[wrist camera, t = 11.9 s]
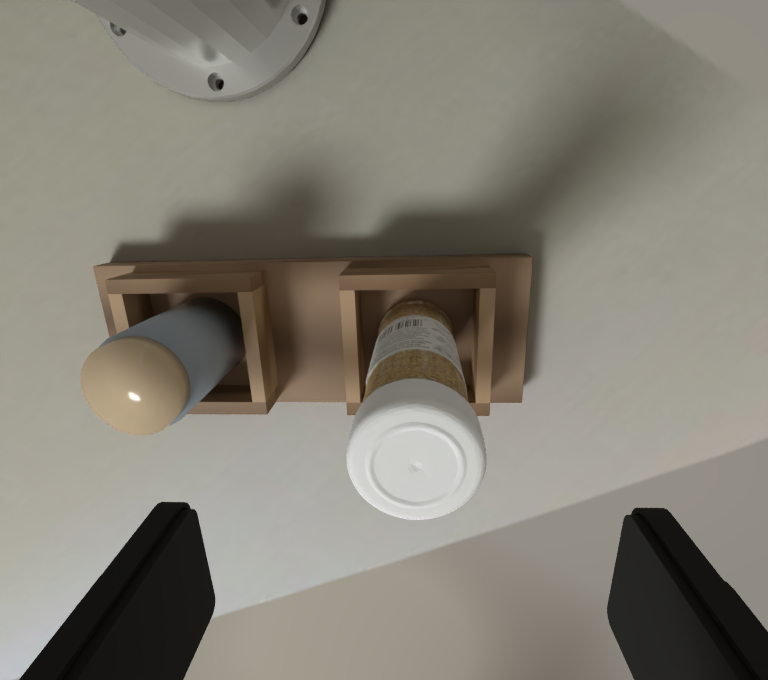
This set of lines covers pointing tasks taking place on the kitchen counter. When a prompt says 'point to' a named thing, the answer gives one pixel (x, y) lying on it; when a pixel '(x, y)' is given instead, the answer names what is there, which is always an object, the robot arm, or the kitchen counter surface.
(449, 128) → the kitchen counter surface
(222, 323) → the spice pot
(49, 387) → the kitchen counter surface
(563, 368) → the kitchen counter surface
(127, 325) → the spice rail
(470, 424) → the sprinkles bottle
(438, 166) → the kitchen counter surface
